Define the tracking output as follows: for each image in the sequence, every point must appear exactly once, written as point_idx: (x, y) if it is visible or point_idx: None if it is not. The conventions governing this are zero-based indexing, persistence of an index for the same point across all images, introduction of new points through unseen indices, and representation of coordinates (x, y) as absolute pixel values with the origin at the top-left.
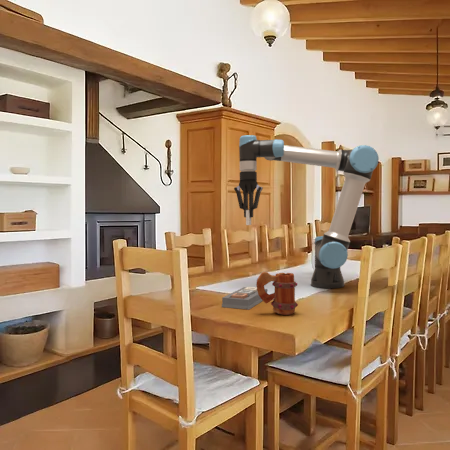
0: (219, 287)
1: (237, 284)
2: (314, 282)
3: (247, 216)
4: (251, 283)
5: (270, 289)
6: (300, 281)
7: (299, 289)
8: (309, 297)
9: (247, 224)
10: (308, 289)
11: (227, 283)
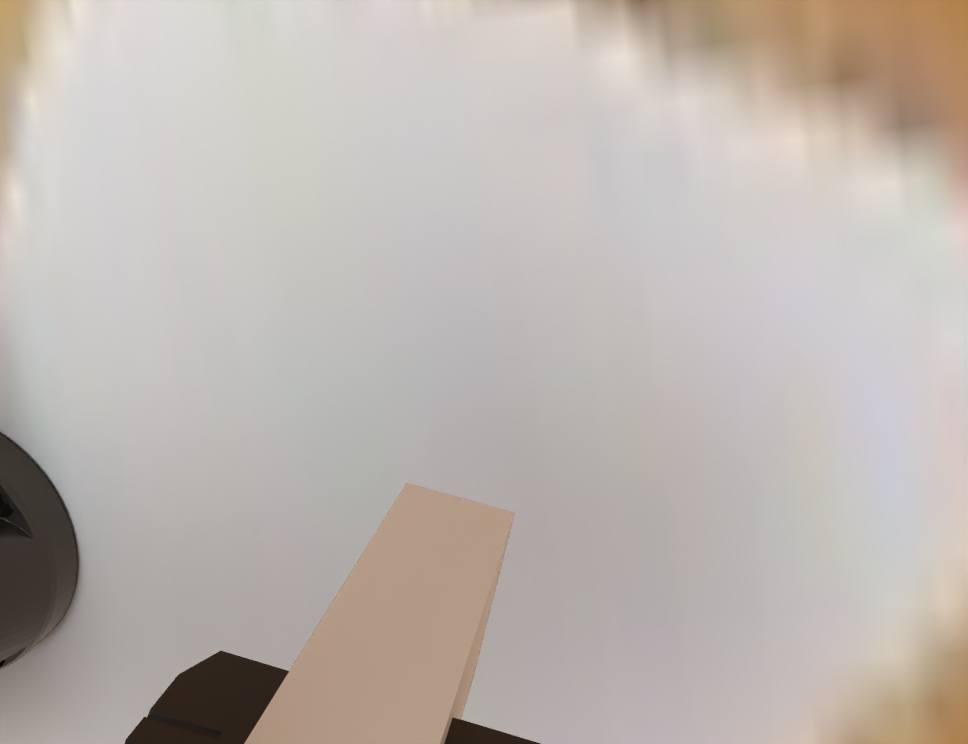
0: (924, 388)
1: (740, 552)
2: (12, 481)
3: (382, 670)
4: (603, 605)
5: (389, 331)
6: None
7: (141, 354)
8: (8, 3)
9: (460, 508)
10: (70, 361)
11: (852, 599)
